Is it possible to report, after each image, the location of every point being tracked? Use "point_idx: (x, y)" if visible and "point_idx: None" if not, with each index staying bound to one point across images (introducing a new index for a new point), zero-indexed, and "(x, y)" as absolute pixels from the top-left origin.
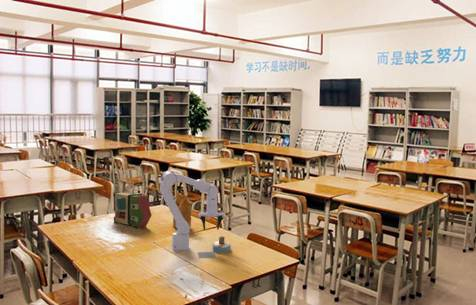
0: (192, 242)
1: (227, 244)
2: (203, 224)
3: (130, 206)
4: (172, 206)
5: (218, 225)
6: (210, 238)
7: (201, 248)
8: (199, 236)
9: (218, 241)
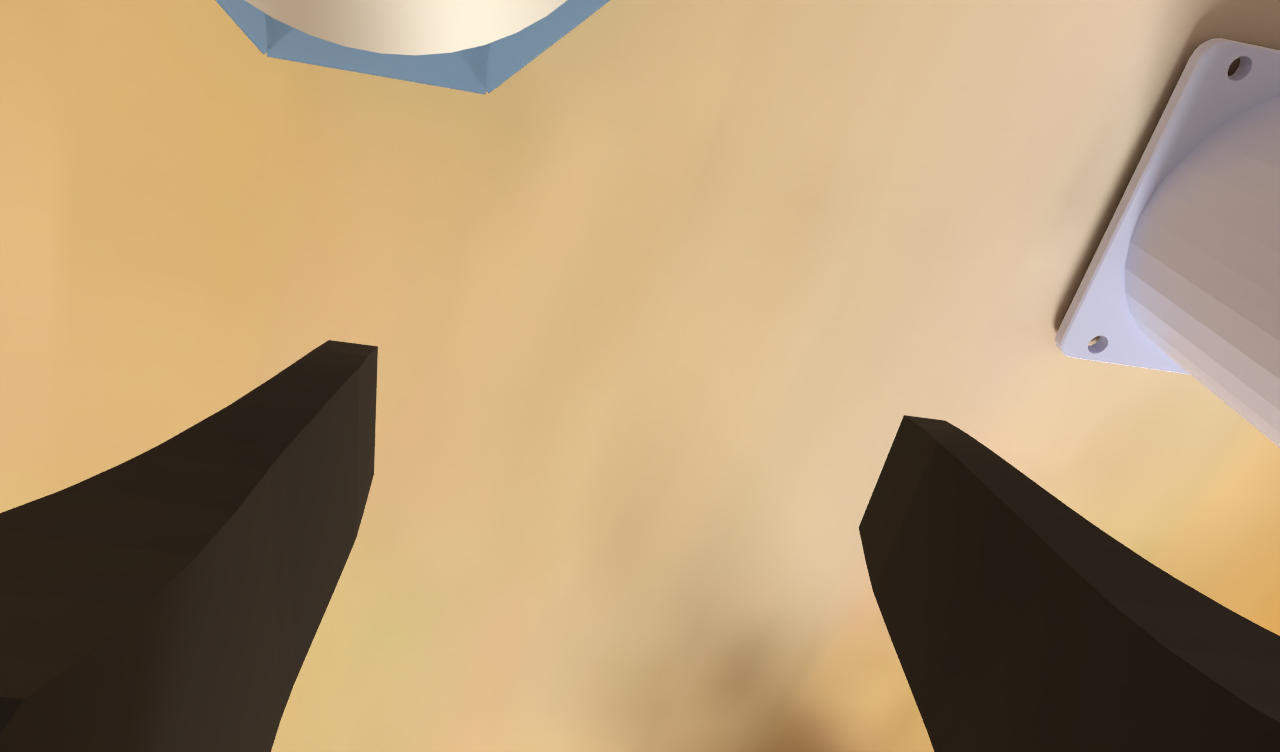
0: None
1: None
2: (1131, 558)
3: None
4: None
5: (275, 423)
6: (487, 637)
7: (876, 116)
8: (648, 741)
9: (440, 21)
